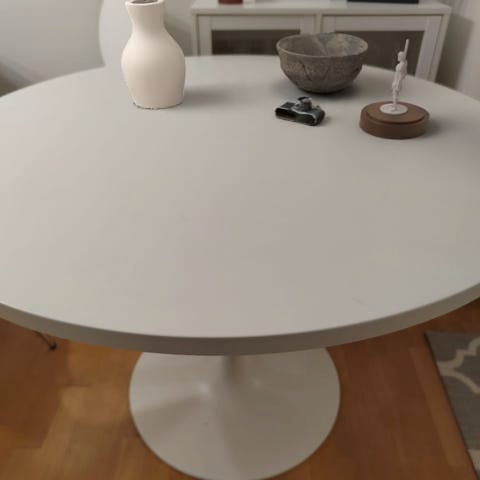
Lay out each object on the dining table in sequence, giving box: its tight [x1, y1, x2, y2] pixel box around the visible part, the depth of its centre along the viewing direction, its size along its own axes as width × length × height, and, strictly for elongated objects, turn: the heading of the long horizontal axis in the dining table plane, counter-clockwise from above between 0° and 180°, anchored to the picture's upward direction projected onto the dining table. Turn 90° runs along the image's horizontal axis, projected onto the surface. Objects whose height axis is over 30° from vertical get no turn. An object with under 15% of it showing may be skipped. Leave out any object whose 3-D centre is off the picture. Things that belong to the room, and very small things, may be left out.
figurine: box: [380, 39, 410, 115], centre depth 86 cm, size 5×5×12 cm
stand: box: [358, 100, 431, 140], centre depth 90 cm, size 13×13×3 cm
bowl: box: [275, 31, 369, 94], centre depth 106 cm, size 21×21×10 cm
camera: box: [274, 95, 326, 126], centre depth 95 cm, size 5×10×4 cm, turn 52°
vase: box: [120, 0, 187, 110], centre depth 100 cm, size 14×14×20 cm
